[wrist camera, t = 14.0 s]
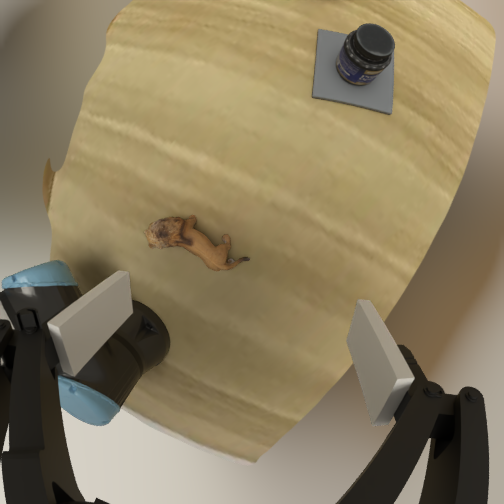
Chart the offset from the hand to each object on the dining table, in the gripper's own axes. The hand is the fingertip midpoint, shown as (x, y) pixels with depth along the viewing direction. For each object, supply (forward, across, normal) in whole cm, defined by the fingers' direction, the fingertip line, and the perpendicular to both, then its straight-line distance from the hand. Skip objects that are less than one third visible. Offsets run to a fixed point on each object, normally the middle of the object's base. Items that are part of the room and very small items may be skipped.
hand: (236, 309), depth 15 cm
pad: (+27, -12, -25) cm, 38 cm away
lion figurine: (+28, +9, +4) cm, 30 cm away
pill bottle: (+26, -11, -25) cm, 38 cm away
